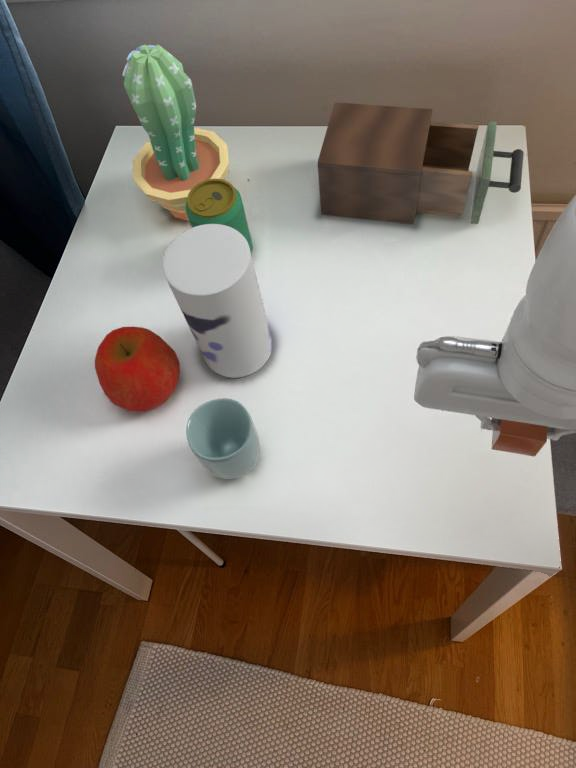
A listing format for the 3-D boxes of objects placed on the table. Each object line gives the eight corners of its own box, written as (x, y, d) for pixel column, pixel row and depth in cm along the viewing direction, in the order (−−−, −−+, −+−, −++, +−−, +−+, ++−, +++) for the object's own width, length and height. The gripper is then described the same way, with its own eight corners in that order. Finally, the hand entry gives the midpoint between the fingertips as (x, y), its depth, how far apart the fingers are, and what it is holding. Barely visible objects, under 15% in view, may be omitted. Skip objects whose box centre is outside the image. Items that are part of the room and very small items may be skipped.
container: (193, 369, 81) (147, 284, 64) (217, 311, 85) (181, 216, 68) (260, 385, 79) (232, 301, 61) (281, 324, 83) (261, 230, 65)
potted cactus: (246, 166, 98) (215, 18, 76) (229, 238, 91) (189, 98, 69) (160, 164, 100) (104, 19, 78) (137, 233, 94) (69, 97, 72)
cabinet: (424, 165, 94) (432, 108, 85) (414, 224, 89) (421, 171, 79) (336, 157, 97) (334, 102, 87) (321, 214, 92) (317, 162, 82)
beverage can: (264, 253, 89) (251, 196, 79) (223, 283, 88) (205, 228, 77) (233, 225, 93) (217, 166, 82) (193, 253, 91) (171, 197, 80)
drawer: (515, 171, 90) (530, 124, 83) (510, 227, 86) (525, 182, 78) (398, 161, 94) (402, 114, 86) (387, 214, 89) (391, 170, 81)
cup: (211, 494, 73) (192, 469, 64) (199, 438, 77) (179, 408, 68) (271, 476, 73) (259, 449, 64) (256, 422, 77) (243, 389, 68)
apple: (198, 362, 82) (178, 322, 72) (163, 430, 78) (137, 396, 68) (133, 341, 84) (105, 300, 75) (96, 405, 80) (62, 369, 71)
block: (536, 418, 56) (548, 401, 53) (534, 456, 55) (547, 441, 51) (494, 411, 57) (502, 394, 54) (491, 449, 56) (500, 434, 52)
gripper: (414, 372, 43) (402, 439, 55) (722, 416, 39) (635, 478, 51) (424, 302, 46) (411, 381, 58) (714, 337, 42) (633, 414, 54)
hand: (518, 427), depth 55 cm, fingers closed on block, 4 cm apart
